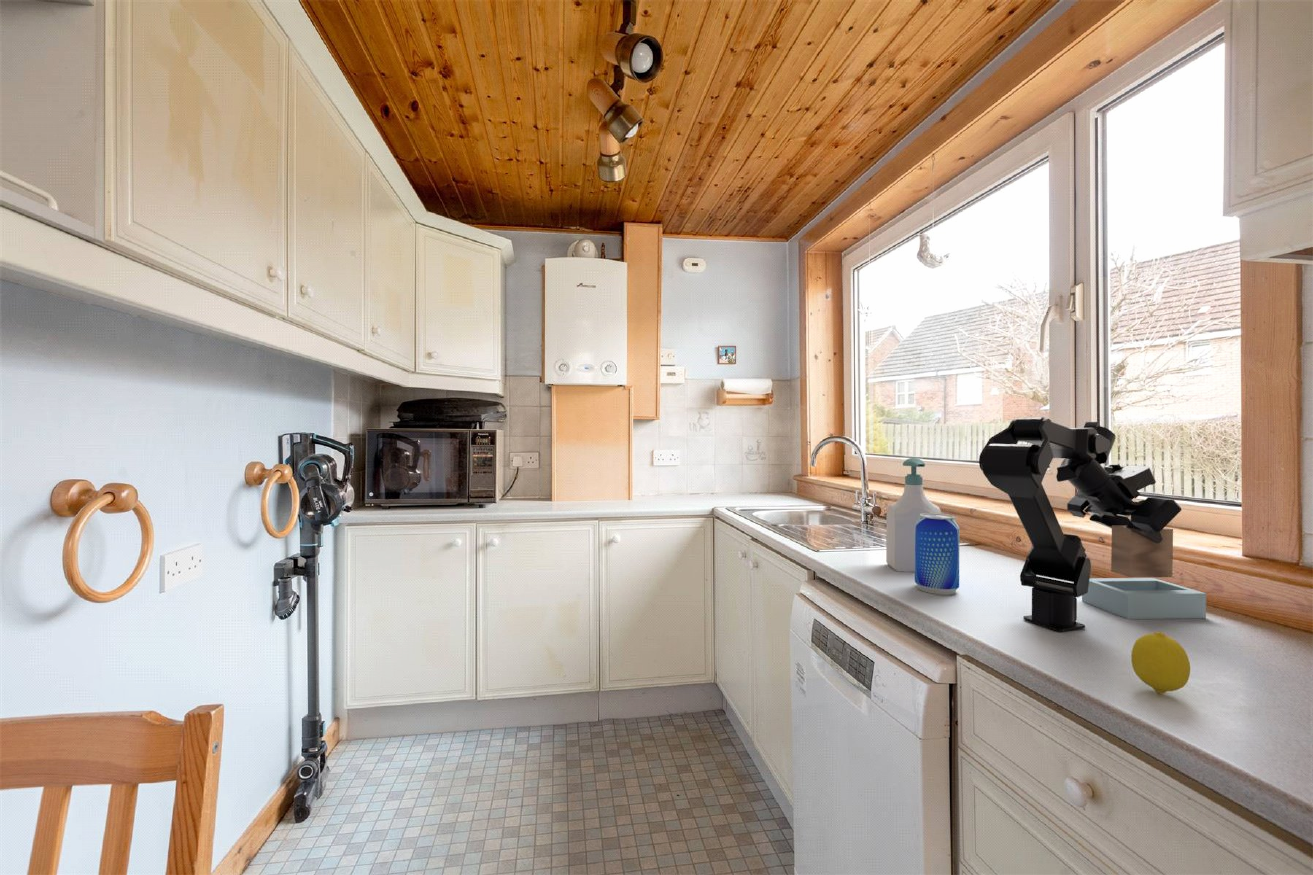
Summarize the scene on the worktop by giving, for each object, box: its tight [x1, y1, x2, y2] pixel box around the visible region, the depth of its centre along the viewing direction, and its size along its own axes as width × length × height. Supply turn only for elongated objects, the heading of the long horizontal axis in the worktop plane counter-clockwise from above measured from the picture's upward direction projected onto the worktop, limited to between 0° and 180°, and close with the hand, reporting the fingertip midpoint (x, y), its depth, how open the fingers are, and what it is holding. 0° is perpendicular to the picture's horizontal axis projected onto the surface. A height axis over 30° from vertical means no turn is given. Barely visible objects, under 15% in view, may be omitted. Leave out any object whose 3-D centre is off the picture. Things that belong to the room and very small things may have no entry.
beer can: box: [914, 513, 960, 596], centre depth 112 cm, size 8×8×16 cm
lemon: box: [1130, 631, 1191, 694], centre depth 68 cm, size 6×6×8 cm
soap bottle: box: [885, 457, 942, 573], centre depth 129 cm, size 11×8×27 cm
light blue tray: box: [1081, 577, 1207, 620], centre depth 100 cm, size 14×10×4 cm
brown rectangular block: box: [1110, 525, 1174, 578], centre depth 100 cm, size 8×4×9 cm, turn 91°
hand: (1148, 539), depth 100 cm, fingers closed on brown rectangular block, 4 cm apart
